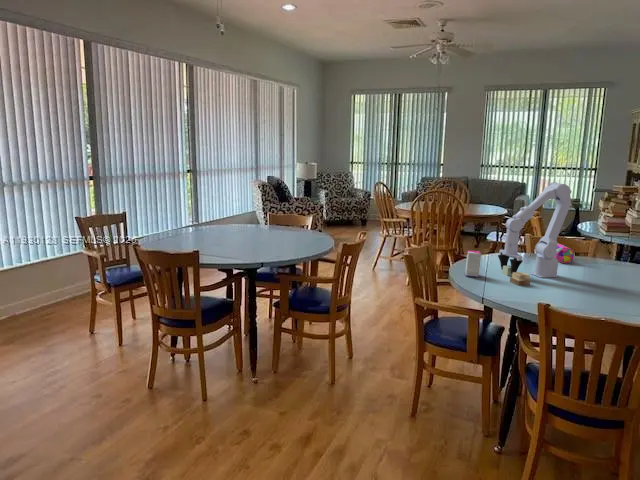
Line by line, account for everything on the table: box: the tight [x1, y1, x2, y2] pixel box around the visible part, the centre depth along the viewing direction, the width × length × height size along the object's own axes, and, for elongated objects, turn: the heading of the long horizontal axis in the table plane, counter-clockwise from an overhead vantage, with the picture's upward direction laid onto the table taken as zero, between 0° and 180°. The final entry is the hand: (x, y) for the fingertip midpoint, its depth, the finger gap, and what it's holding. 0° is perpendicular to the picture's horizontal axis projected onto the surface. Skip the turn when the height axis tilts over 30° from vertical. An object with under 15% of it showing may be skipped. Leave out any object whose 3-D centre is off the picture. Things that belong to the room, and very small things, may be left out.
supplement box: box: [464, 250, 482, 279], centre depth 230 cm, size 6×6×12 cm
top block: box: [501, 265, 512, 277], centre depth 235 cm, size 4×4×4 cm
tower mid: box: [511, 271, 530, 281], centre depth 220 cm, size 5×5×2 cm
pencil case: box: [554, 241, 575, 264], centre depth 270 cm, size 22×9×9 cm, turn 177°
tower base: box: [509, 276, 531, 287], centre depth 221 cm, size 6×6×2 cm
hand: (508, 271), depth 235 cm, fingers open, 7 cm apart
